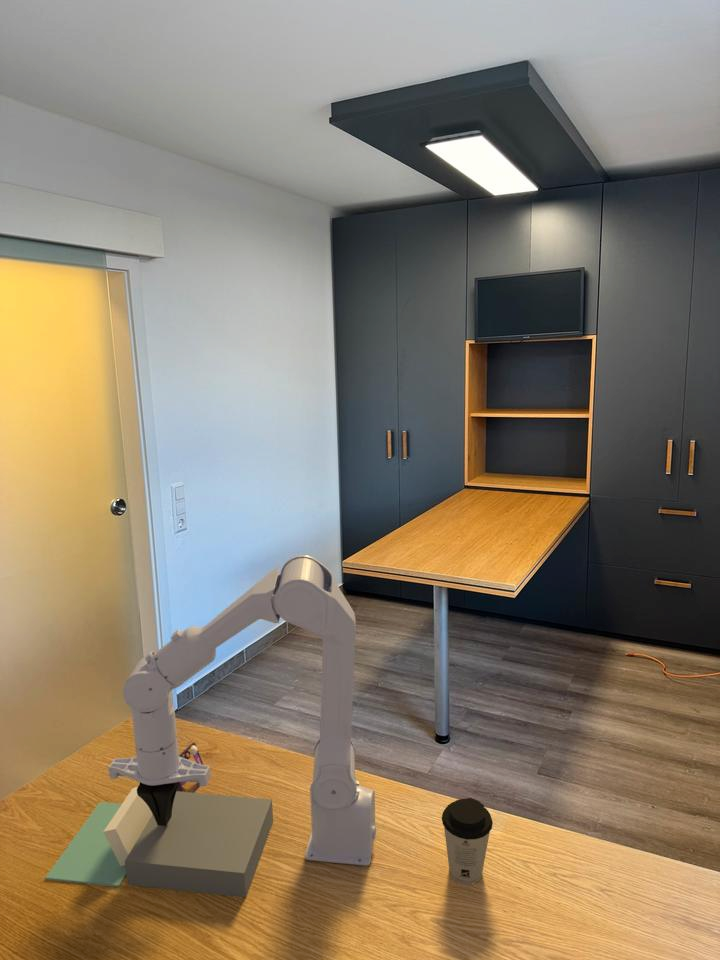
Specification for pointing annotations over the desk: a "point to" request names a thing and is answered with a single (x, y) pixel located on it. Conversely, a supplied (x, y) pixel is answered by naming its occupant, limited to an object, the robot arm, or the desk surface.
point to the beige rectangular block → (127, 825)
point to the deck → (203, 845)
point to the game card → (187, 755)
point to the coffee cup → (466, 838)
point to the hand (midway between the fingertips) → (164, 820)
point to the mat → (91, 853)
